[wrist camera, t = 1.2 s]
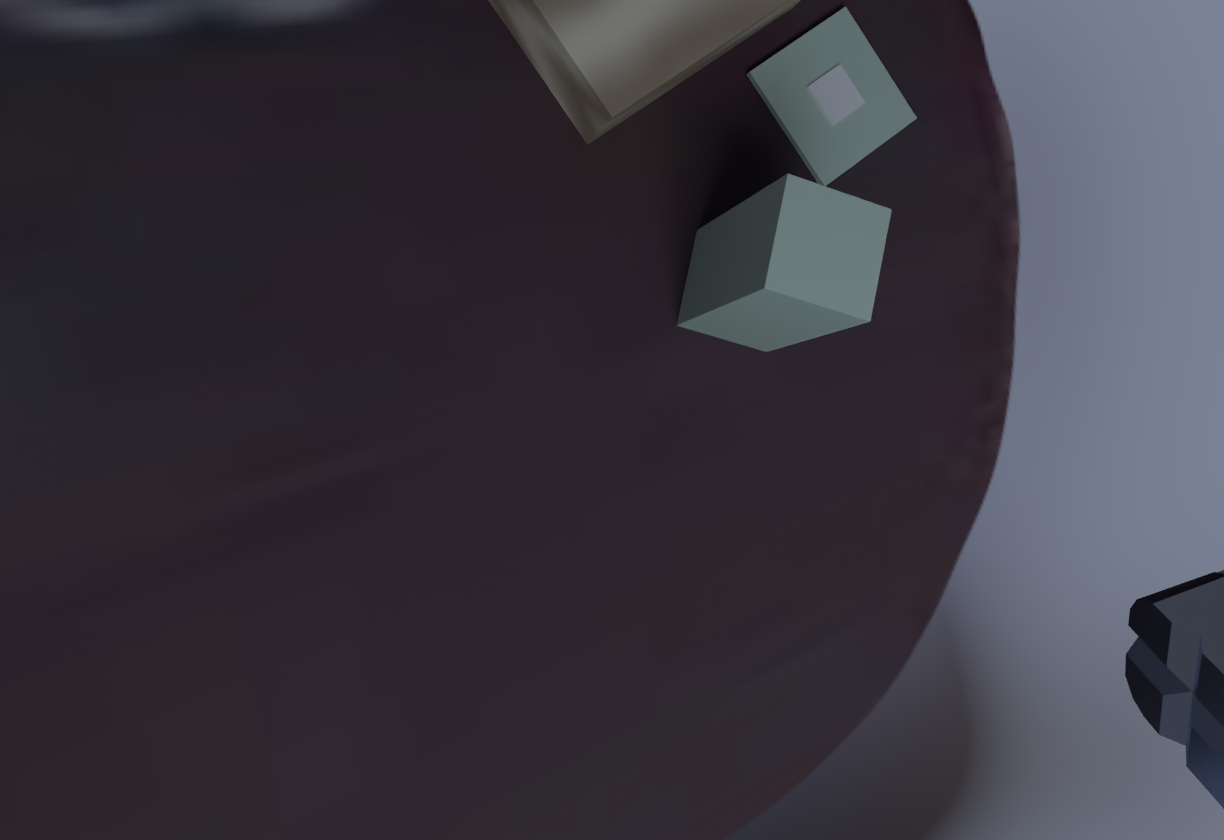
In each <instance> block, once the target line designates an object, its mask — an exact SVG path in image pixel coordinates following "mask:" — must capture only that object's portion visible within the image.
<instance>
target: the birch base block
mask: <svg viewBox="0 0 1224 840" xmlns="http://www.w3.org/2000/svg"><path fill="white" fill-rule="evenodd" d="M800 1H801V0H489V2H490V3H491V5H492V6H493V8H494V9H495V10H496V12H497V13H498V15H499V16H500V18H501V19H502V21H503V22H504V24H505V25H506V27H507V28H508V29H509V31H510V32H511V34H512V35H513V37H514V38H515V40H516V41H517V43H518V44H519V45H520V47H521V48H522V50H523V51H524V53H525V54H526V56H527V57H528V59H529V60H530V62H531V63H532V64H533V66H534V67H535V69H536V70H537V72H538V73H539V75H540V76H541V78H542V79H543V80H544V82H545V83H546V85H547V86H548V88H549V89H550V91H551V92H552V94H553V95H554V96H555V98H556V99H557V101H558V102H559V104H560V105H561V107H562V108H563V110H564V111H565V113H566V114H567V115H568V117H569V118H570V120H571V121H572V123H573V124H574V126H575V127H576V129H577V130H578V131H579V133H580V134H581V136H582V137H583V139H584V140H585V142H586V143H587V145H588V144H589V143H591V142H592V141H594V140H595V139H597V138H598V137H600V136H601V135H603V134H604V133H606V132H607V131H609V130H610V129H612V128H613V127H615V126H616V125H618V124H619V123H621V122H622V121H624V120H625V119H627V118H628V117H630V116H631V115H633V114H634V113H636V112H637V111H639V110H640V109H642V108H643V107H645V106H646V105H648V104H649V103H651V102H652V101H654V100H655V99H657V98H658V97H660V96H661V95H663V94H664V93H666V92H667V91H669V90H670V89H672V88H673V87H675V86H676V85H678V84H679V83H681V82H682V81H684V80H685V79H687V78H688V77H690V76H691V75H693V74H694V73H696V72H697V71H699V70H700V69H702V68H703V67H705V66H706V65H708V64H709V63H711V62H712V61H714V60H715V59H717V58H718V57H720V56H721V55H723V54H724V53H726V52H727V51H729V50H730V49H732V48H733V47H735V46H736V45H738V44H739V43H741V42H742V41H744V40H745V39H747V38H748V37H750V36H751V35H753V34H754V33H756V32H757V31H759V30H760V29H762V28H763V27H765V26H766V25H768V24H769V23H771V22H772V21H774V20H775V19H777V18H778V17H780V16H781V15H783V14H784V13H786V12H787V11H789V10H790V9H792V8H793V7H794V6H795V5H796V4H797V3H799V2H800Z"/></svg>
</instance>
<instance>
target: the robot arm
mask: <svg viewBox="0 0 1224 840" xmlns="http://www.w3.org/2000/svg"><path fill="white" fill-rule="evenodd" d="M1128 625H1129V626H1130V627H1131V629H1132V630H1133V631H1134V632H1135V633H1136V634H1137V635H1138V636H1139V637H1138V638H1137V640H1136V641H1135V642H1134V644H1133V645H1132V646H1131V648H1130V649H1129V651H1128V652H1127V653H1126V672H1125V676H1126V679H1127V682H1128V685H1129V688H1130V691H1131V694H1132V697H1133V699H1134V701H1135V702H1136V704H1137V706H1138V707H1139V709H1140V711H1141V713H1142V714H1143V716H1144V717H1145V718H1146V719H1147V721H1148V722H1149V723H1150V724H1151V725H1152V727H1153V728H1154V729H1155V730H1156V731H1157V733H1158V734H1159V735H1162V736H1164V737H1166V738H1169V739H1171V740H1174V741H1176V742H1178V743H1180V744H1183V745H1186V766H1187V767H1188V769H1189V770H1190V771H1191V772H1192V773H1193V774H1194V775H1195V776H1196V778H1197V779H1198V780H1199V781H1200V782H1201V783H1202V784H1203V786H1204V787H1205V788H1206V789H1207V790H1208V791H1209V792H1210V794H1211V795H1212V796H1213V797H1214V798H1215V799H1216V800H1217V801H1218V802H1219V804H1220V805H1221V806H1222V807H1223V808H1224V570H1222V571H1220V572H1213V573H1210V574H1208V575H1205V576H1202V577H1199V578H1196V579H1194V580H1190V581H1188V582H1185V583H1182V584H1179V585H1176V586H1174V587H1171V588H1168V589H1165V590H1162V591H1160V592H1157V593H1154V594H1151V595H1148V596H1145V597H1143V598H1140V599H1137V600H1136V601H1135V603H1134V604H1133V606H1132V607H1131V608H1130V615H1129V624H1128Z"/></svg>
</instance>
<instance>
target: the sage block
mask: <svg viewBox="0 0 1224 840" xmlns="http://www.w3.org/2000/svg"><path fill="white" fill-rule="evenodd" d="M890 215H891V209H889V208H886V207H883V206H880V205H877V204H874V203H871V202H868V201H866V200H863V199H860V198H857V197H854V196H851V195H848V194H845V193H842V192H840V191H837V190H834V189H831V188H828V187H825V186H822V185H819V184H817V183H814V182H811V181H808V180H805V179H802V178H799V177H796V176H794V175H791V174H786V175H785V176H783V177H782V178H780V179H778V180H777V181H775V182H774V183H772V184H770V185H769V186H767V187H766V188H764V189H762V190H761V191H759V192H758V193H756V194H754V195H753V196H751V197H749V198H748V199H746V200H745V201H743V202H741V203H740V204H738V205H737V206H735V207H733V208H732V209H730V210H729V211H727V212H725V213H724V214H722V215H721V216H719V217H717V218H716V219H714V220H713V221H711V222H709V223H708V224H706V225H705V226H703V227H701V228H700V229H698V230H697V233H696V238H695V243H694V247H693V252H692V257H691V261H690V266H689V271H688V275H687V280H686V284H685V289H684V294H683V298H682V303H681V308H680V312H679V317H678V322H677V326H681V327H684V328H687V329H691V330H694V331H697V332H701V333H704V334H708V335H711V336H714V337H718V338H721V339H725V340H728V341H731V342H735V343H738V344H742V345H745V346H748V347H752V348H755V349H759V350H762V351H765V352H768V351H771V350H775V349H778V348H781V347H785V346H788V345H792V344H795V343H799V342H802V341H805V340H809V339H812V338H816V337H819V336H822V335H826V334H829V333H833V332H836V331H840V330H843V329H846V328H850V327H853V326H857V325H860V324H863V323H867V322H870V321H871V315H872V310H873V305H874V300H875V294H876V289H877V284H878V278H879V273H880V268H881V263H882V257H883V252H884V247H885V242H886V236H887V231H888V226H889V221H890Z"/></svg>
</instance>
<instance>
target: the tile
mask: <svg viewBox="0 0 1224 840" xmlns="http://www.w3.org/2000/svg"><path fill="white" fill-rule="evenodd" d="M746 75H747V76H748V78H749V79H750V81H751V82H752V84H753V86H754V87H755V89H756V90H757V92H758V93H759V95H760V96H761V98H762V99H763V101H764V102H765V104H766V105H767V107H768V108H769V110H770V111H771V113H772V114H773V116H774V117H775V119H776V120H777V122H778V124H779V125H780V127H781V128H782V130H783V131H784V133H785V134H786V136H787V137H788V139H789V140H790V142H791V143H792V145H793V146H794V148H795V149H796V151H797V152H798V154H799V155H800V157H801V158H802V160H803V161H804V163H805V165H806V166H807V168H808V169H809V171H810V172H811V174H812V175H813V177H814V178H815V180H816V181H817V183H818V184H819V185H822V186H826V185H828V184H829V183H830V182H832V181H833V180H834V179H836V178H837V177H838V176H840V175H841V174H842V173H844V172H845V171H846V170H848V169H849V168H850V167H852V166H853V165H855V164H856V163H857V162H859V161H860V160H861V159H863V158H864V157H865V156H867V155H868V154H869V153H871V152H872V151H873V150H875V149H876V148H877V147H879V146H880V145H882V144H883V143H884V142H886V141H887V140H888V139H890V138H891V137H892V136H894V135H895V134H896V133H898V132H899V131H900V130H902V129H903V128H904V127H906V126H907V125H909V124H910V123H911V122H913V121H914V120H915V119H917V117H916V116H915V114H914V113H913V111H912V109H911V108H910V106H909V105H908V103H907V102H906V100H905V99H904V97H903V95H902V94H901V92H900V91H899V89H898V88H897V86H896V84H895V83H894V81H893V80H892V78H891V77H890V75H889V73H888V72H887V70H886V69H885V67H884V66H883V64H882V63H881V61H880V59H879V58H878V56H877V55H876V53H875V52H874V50H873V48H872V47H871V45H870V44H869V42H868V41H867V39H866V37H865V36H864V34H863V33H862V31H861V30H860V28H859V27H858V25H857V23H856V22H855V20H854V19H853V17H852V16H851V14H850V12H849V11H848V9H847V8H846V7H844V8H843V9H841V10H840V11H838V12H837V13H835V14H834V15H832V16H831V17H829V18H828V19H826V20H825V21H824V22H822V23H821V24H819V25H818V26H816V27H815V28H813V29H812V30H810V31H809V32H807V33H806V34H804V35H803V36H801V37H800V38H798V39H797V40H796V41H794V42H793V43H791V44H790V45H788V46H787V47H785V48H784V49H782V50H781V51H779V52H778V53H776V54H775V55H773V56H772V57H771V58H769V59H768V60H766V61H765V62H763V63H762V64H760V65H759V66H757V67H756V68H754V69H753V70H751V71H750V72H749V73H748V74H746Z"/></svg>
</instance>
